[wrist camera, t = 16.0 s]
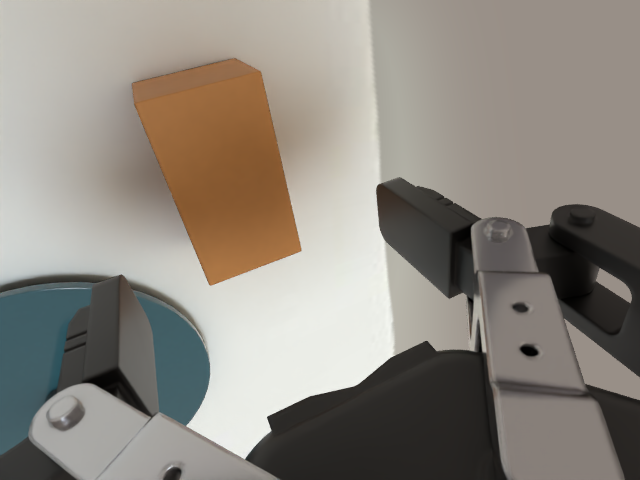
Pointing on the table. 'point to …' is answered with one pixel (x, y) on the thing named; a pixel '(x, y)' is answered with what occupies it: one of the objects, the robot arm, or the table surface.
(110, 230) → the table surface
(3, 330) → the lid
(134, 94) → the orange rectangular block
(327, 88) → the table surface
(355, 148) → the table surface
